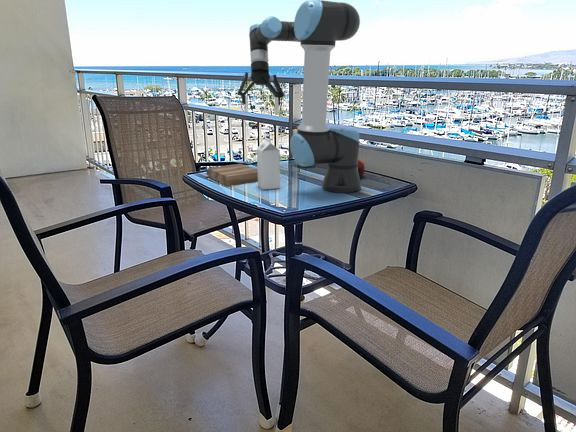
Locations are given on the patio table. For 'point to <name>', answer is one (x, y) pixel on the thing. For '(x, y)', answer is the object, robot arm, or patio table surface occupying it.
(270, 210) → the patio table surface
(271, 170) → the milk carton
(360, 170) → the fruit
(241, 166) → the brown flat block
